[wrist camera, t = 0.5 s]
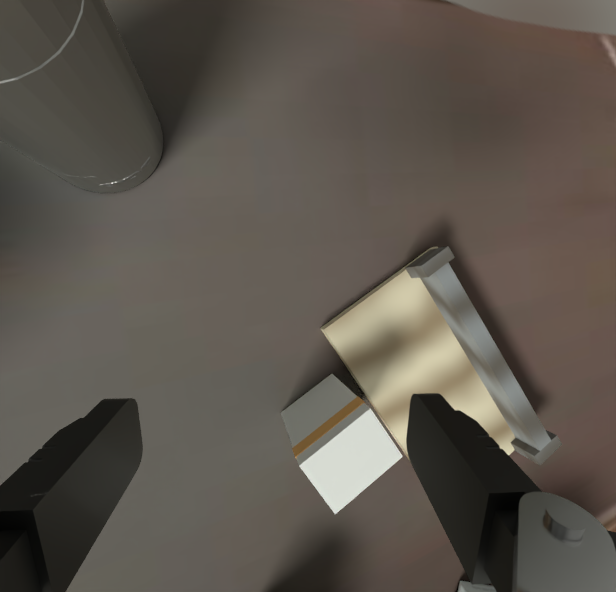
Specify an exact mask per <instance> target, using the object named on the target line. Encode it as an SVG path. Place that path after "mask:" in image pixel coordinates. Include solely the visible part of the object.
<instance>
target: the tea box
mask: <svg viewBox="0 0 616 592" xmlns="http://www.w3.org/2000/svg"><path fill="white" fill-rule="evenodd" d="M458 592H496V590H495V588H494V586H490V585H484V584H474V585H472V584H471V582H465V581H460V583H459V587H458Z"/></svg>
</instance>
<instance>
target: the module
mask: <svg viewBox="0 0 616 592" xmlns="http://www.w3.org/2000/svg"><path fill="white" fill-rule="evenodd" d="M281 415H282V418H283V421H284V424H285V427H286V429H287V433H288V436H289V439H290V442H291V444H292V447H293V448H292V449H293V452H294V455H295V457H296V459H297V461H298V464H299V466H300V468H301V469H302V470H303V472H304V473H305V474H306V476H307V477H308V478H309V480H310V481H311V482H312V484H313V485H314V486H315V488H316V489H317V490H318V492H319V493H320V495H321V496H322V497H323V499H324V500H325V501H326V503H327V504H328V505H329V507H330V508H331V509H332V511H333V512H334V513H335V514H336V513H337V512H339V511H340V510H341V509H342V508H343V507H344V506H346V505H347V504H348V503H349V502H350V501H351V500H353V499H354V498H355V497H356V496H357V495H358V494H360V493H361V492H362V491H363V490H364V489H365V488H367V487H368V486H369V485H370V484H371V483H372V482H374V481H375V480H376V479H377V478H378V477H379V476H381V475H382V474H383V473H384V472H385V471H386V470H388V469H389V468H390V467H391V466H392V465H393V464H395V463H396V462H397V461H398V460H399V459H400V458H402V457H403V456H402V455H401V453H400V452H399V450H398V449H397V447H396V446H395V444H394V443H393V441H392V440H391V438H390V437H389V435H388V434H387V432H386V431H385V429H384V428H383V427H382V425H381V424H380V422H379V421H378V419H377V418H376V416H375V415H374V413H373V412H372V410H371V409H370V408H369V407H368V406H367V405H366V404H365V402H364V401H363V400H362V399H361V398H360V397H357V396H356V395H355V394H354V393H353V392H352V391H351V390H350V389H349V388H347V387H346V386H345V385H344V384H343V383H342V382H341V381H340V380H339V379H338V378H336V377H335V376H334V375H333V374H331V375H329V376H328V377H327V378H325V379H324V380H323V381H321V382H320V383H319V384H317V385H316V386H315V387H314V388H312V389H311V390H310V391H308V392H307V393H306V394H304V395H303V396H302V397H300V398H299V399H298V400H297V401H295V402H294V403H293V404H291V405H290V406H289V407H287V408H286V409H285V410H283V411H282V412H281Z"/></svg>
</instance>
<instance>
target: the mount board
mask: <svg viewBox="0 0 616 592" xmlns="http://www.w3.org/2000/svg"><path fill="white" fill-rule="evenodd" d="M453 258H455V257H454V255H453V253H452V252H451V250H450V248H449V246H446V247H441V248H438V246H437V247H432V248H429V249H428V250H427V251H425V252H424V253H423V254H421V255H420V256H418V257H417V258H416V259H414V260H413V261H412V262H410V263H409V264H408V265H406V266H405V267H403V268H402V269H401V270H399V271H398V272H397V273H395V274H394V275H392V276H391V277H390V278H388V279H387V280H386V281H384V282H383V283H381V284H380V285H379V286H377V287H376V288H375V289H373V290H372V291H371V292H369V293H368V294H366V295H365V296H364V297H362V298H361V299H360V300H358V301H357V302H355V303H354V304H353V305H351V306H350V307H349V308H347V309H346V310H344V311H343V312H342V313H340V314H339V315H338V316H336V317H335V318H333V319H332V320H331V321H329V322H328V323H327V324H325V325H324V326H323V327H321V330H322V331H323V333H324V334H325V336H326V337H327V339H328V340H329V342H330V343H331V345H332V346H333V348H334V349H335V351H336V352H337V354H338V355H339V357H340V358H341V360H342V361H343V363H344V364H345V366H346V367H347V369H348V370H349V372H350V373H351V375H352V376H353V378H354V379H355V381H356V382H357V383H358V385H359V386H360V388H361V389H362V391H363V392H364V394H365V395H366V397H367V398H368V400H369V401H370V403H371V404H372V406H373V407H374V409H375V410H376V412H377V413H378V415H379V416H380V418H381V419H382V421H383V422H384V424H385V425H386V427H387V428H388V430H389V431H390V433H391V434H392V436H393V437H394V439H395V440H396V441H397V443H398V444H399V446H400V447H401V449H402V450H403V452H404V453H405V455H406V456H407V458H408V459H409V456H408V452H407V445H406V437H407V427H408V418H409V408H410V400H411V397H412V395H413V394H421V393H439V394H441V395H442V396H443V397H444V398H445V400H446V401H447V402H448V403H449V404H450V405H451V406H452V408H453V409H454V410H460V411H462V412H463V413H465V414H466V415H468V416H470V417H471V418H473V419H474V420H476V421H477V422H478V423H479V424H480V425H481V426H482V427H483V428H484V430H485V431H486V432H487V433H488V434H489V437H492V438H493V439H494V440H495V441H496V443H497V444H498V445H499V447H500V449H503V450H504V451H505V452H506V453H507V454H508V456H509V455H510V454H511V453H512V452H513V451H514V450H515V451H516V452H518V453H520V454H521V455H523V456H525V457H526V458H528V459H530V460H532V461H533V462H535V463H537V464H538V465H541V464H542V463H543V462H544V461H545V460H546V459H547V458H548V457H549V456H551V455H552V454H553V453H554V452H555V451H556V450H557V449H558V448H559V447H560V446H561V445H562V443H561V442H560V440H559V438H558V436H557V435H555V434H553V433H551V432H549V431H546V430H545V429H544V427H543V425H542V423H541V422H540V420H539V418H538V417H537V415H536V413H535V411H534V410H533V408H532V406H531V404H530V403H529V401H528V399H527V398H526V396H525V394H524V392H523V391H522V389H521V387H520V385H519V384H518V382H517V380H516V379H515V377H514V375H513V373H512V372H511V370H510V368H509V366H508V365H507V363H506V361H505V360H504V358H503V356H502V354H501V353H500V351H499V349H498V347H497V346H496V344H495V342H494V341H493V339H492V337H491V335H490V334H489V332H488V330H487V328H486V327H485V325H484V323H483V322H482V320H481V318H480V316H479V315H478V313H477V311H476V309H475V308H474V306H473V304H472V303H471V301H470V299H469V297H468V296H467V294H466V292H465V290H464V289H463V287H462V285H461V283H460V282H459V280H458V278H457V277H456V275H455V273H454V271H453V270H452V268H451V266H450V264H449V263H448V262H449V261H451V260H452V259H453ZM409 461H410V459H409Z"/></svg>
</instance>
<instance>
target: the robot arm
mask: <svg viewBox="0 0 616 592" xmlns="http://www.w3.org/2000/svg"><path fill="white" fill-rule="evenodd" d="M0 140H1V141H3V142H4V143H6V144H8V145H9V146H11V147H12V148H14V149H16V150H17V151H19V152H21V153H22V154H24V155H25V156H27V157H29V158H30V159H32V160H33V161H35V162H36V163H38V164H40V165H41V166H43V167H44V168H46V169H48V170H49V171H51V172H53V173H54V174H56V175H58V176H59V177H61V178H63V179H64V180H66V181H67V182H69V183H71V184H72V185H74V186H77V187H79V188H82V189H84V190H87V191H92V192H98V193H116V192H121V191H126V190H128V189H131V188H133V187H135V186H138V185H139V184H140V183H142V182H143V181H144V180H146V179H147V178H148V177H149V176H150V175H151V174H152V172H153V171H154V170H155V169H156V167H157V165H158V163H159V161H160V158H161V154H162V150H163V133H162V129H161V124H160V122H159V120H158V117H157V115H156V113H155V111H154V109H153V106H152V104H151V102H150V100H149V98H148V95H147V93H146V91H145V88H144V86H143V84H142V82H141V80H140V78H139V75H138V73H137V71H136V69H135V67H134V65H133V63H132V60H131V58H130V56H129V54H128V52H127V50H126V48H125V45H124V43H123V41H122V39H121V37H120V35H119V33H118V30H117V28H116V26H115V24H114V22H113V20H112V17H111V15H110V13H109V11H108V9H107V7H106V5H105V2H104V0H0ZM406 445H407V452H408V456H409V459H410V462H411V464H412V466H413V468H414V470H415V472H416V474H417V476H418V478H419V480H420V482H421V484H422V486H423V488H424V490H425V492H426V494H427V496H428V498H429V500H430V502H431V504H432V506H433V508H434V510H435V512H436V514H437V516H438V518H439V520H440V522H441V524H442V526H443V528H444V530H445V532H446V534H447V536H448V538H449V540H450V542H451V544H452V546H453V548H454V550H455V552H456V554H457V556H458V558H459V560H460V562H461V564H462V566H463V568H464V570H465V572H466V574H467V576H468V578H469V580H470V582H471V584H472V585H474V584H491V583H492V584H493V586H494V588H495V590H496V592H616V532H611V531H607V530H606V529H605V528H604V526H603V525H602V524H601V523H600V522H599V521H598V520H597V519H596V518H594V517H593V516H592V515H591V514H590V513H588V512H587V511H586V510H584V509H583V508H581V507H580V506H578V505H576V504H575V503H573V502H571V501H569V500H567V499H565V498H562V497H560V496H557V495H554V494H550V493H546V492H542V491H541V490H540V489H539V488H538V487H537V486H536V485H535V484H534V483H533V482H532V480H531V479H530V478H529V477H528V476H527V475H526V474H525V473H524V472H523V471H522V470H521V469H520V467H519V466H518V465H517V464H516V463H515V462H514V461H513V460H512V459H511V458H510V457H509V456H508V454H507V453H506V452H505V451H504V450H503V449H500V447H499V445H498V444H497V443H496V441H495V440H494V439H493V438H492V437H489V434H488V433H487V432H486V431H485V430H484V428H483V427H482V426H481V425H480V424H479V423H478V422H477V421H476V420H474V419H473V418H471V417H470V416H468V415H466V414H465V413H463V412H462V411H460V410H454V409H453V408H452V406H451V405H450V404H449V403H448V402H447V401H446V400H445V398H444V397H443V396H442V395H441V394H439V393H421V394H413V395H412V397H411V400H410V408H409V418H408V427H407V437H406ZM142 450H143V445H142V437H141V429H140V421H139V413H138V406H137V402H136V401H135V399H132V398H128V399H104V400H102V401H101V402H100V403H99V404H98V405H96V406H95V407H94V408H93V409H92V410H91V411H90V412H89V413H88V414H87V415H86V416H85V417H84V418H80V419H78V420H76V421H75V422H73V423H71V424H69V425H68V426H66V427H64V428H63V429H61V430H59V431H58V432H57V433H56V434H55V435H54V436H53V437H52V438H51V439H50V440H49V441H47V442H46V443H45V444H44V445H43V448H42V449H39V450H38V451H37V452H36V453H35V454H34V455H33V456H31V457H30V458H29V461H28V463H24V464H23V465H22V466H21V467H20V468H19V469H18V470H17V471H16V472H14V473H13V474H12V475H11V476H10V477H9V478H8V479H7V480H6V481H5V482H4V483H3V484H2V485H1V486H0V592H65V591H66V590H67V588H68V586H69V585H70V583H71V581H72V580H73V578H74V576H75V575H76V573H77V571H78V569H79V568H80V566H81V564H82V563H83V561H84V559H85V558H86V556H87V554H88V553H89V551H90V549H91V547H92V546H93V544H94V542H95V541H96V539H97V537H98V536H99V534H100V532H101V531H102V529H103V527H104V526H105V524H106V522H107V520H108V519H109V517H110V515H111V514H112V512H113V510H114V509H115V507H116V505H117V504H118V502H119V500H120V498H121V497H122V495H123V493H124V492H125V490H126V488H127V487H128V485H129V483H130V482H131V480H132V478H133V476H134V475H135V473H136V471H137V469H138V467H139V465H140V462H141V458H142Z"/></svg>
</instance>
